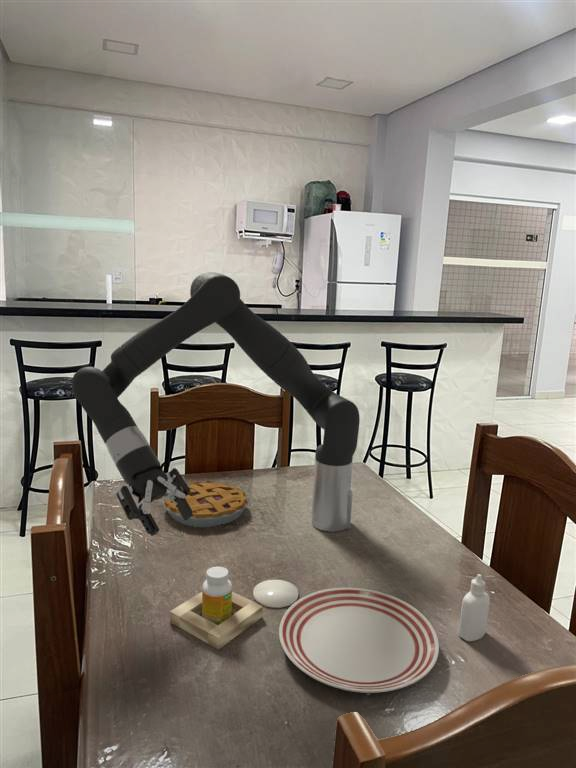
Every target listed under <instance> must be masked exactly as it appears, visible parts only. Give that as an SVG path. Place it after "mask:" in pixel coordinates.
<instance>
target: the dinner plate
mask: <svg viewBox="0 0 576 768" xmlns="http://www.w3.org/2000/svg"><path fill="white" fill-rule="evenodd" d="M278 629H279V630H278V635H279V642H280V645H281V648H282V649H283V652H284V654H285V655H286V656H287V657H288V659H289V660H290V661H291V662H292V664H293V665H295V666H296V667H297V668H298V669H299V670H300V671H302V672H303V673H304V674H306V675H307V676H308V677H310V678H312V679H314V680H315V681H318V682H320V683H322V684H325V685H327V686H330V687H333V688H336V689H340V690H342V691H347V692H354V693H361V694H363V693H364V694H373V693H374V694H375V693H377V694H378V693H385V692H391V691H396V690H400V689H403V688H405V687H409V686H411V685H412V684H415V683H417V682H418V681H420V680H421V679H423V678H424V677H426V676H427V675H428V674H429V673H430V672H431V670H432V669H433V667H434V666H435V664H436V663H437V660H438V657H439V651H440V643H439V639H438V635H437V633H436V630H435V629H434V627H433V625H432V624H431V622H430V621H429V620H428V619H427V617H425V615H424V614H422V613H421V612H420V610H418V609H416V608H415V607H414V606H413V605H411V604H409V603H407V602H406V601H404V600H402V599H400V598H398V597H395V596H393V595H391V594H387V593H385V592H381V591H378V590H373V589H367V588H361V587H333V588H328V589H327V588H326V589H322V590H318V591H314V592H311V593H309V594H307V595H305V596H303V597H301V598H298V599H297V601H296V602H295V603H293V604H292V605H290V607H288V609H286V611H285V613H284V614H283V616H282V618H281V621H280V624H279V628H278Z"/></svg>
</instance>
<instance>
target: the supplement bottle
mask: <svg viewBox="0 0 576 768" xmlns="http://www.w3.org/2000/svg"><path fill="white" fill-rule="evenodd" d="M205 579H206V580H204V582H203V584H202V586H201V587H202V591H201V592H202V613H201V617H203V618H205V619H207V620H209V621H211V622H213V623H214V624H216V625H219V624H221V623H222V622H224V621H225V620H226V619H228V618H229V617H231V616H232V612H231V611H232V592H233V585H232V584H233V583H232V582H231V580H230V579H229V570H228V569H227V568H226V567H223V566H213V567H210V568H208V569H207V570H206V574H205Z"/></svg>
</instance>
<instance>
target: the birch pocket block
mask: <svg viewBox="0 0 576 768" xmlns="http://www.w3.org/2000/svg"><path fill="white" fill-rule="evenodd" d="M263 610H264V606H263V605H261V604H259V603H258V602H255V601H253V600H251V599H248V598H246V597H244V596H243V595H241V594H238V593H236V592H233V591H232V611H231V613H233V614H231V617H229V618H228V619H226V620H225V621H224V622H222V623H221V624H219V625H216V624H214V623H213V622H211V621H209V620H207V619H205V618H203V617H202V591H201V592H199V593H198V594H195V596H192V597H191V598H189V599H187V600H186V601H185V602H182V603H181V604H180V605H178V606H176V607H175V608H173V609H171V610H170V611H169V623H170V624H172V625H174V626H176V627H178V628H180V629H181V630H183V631H185V632H186V633H189V634H190V635H192V636H194V637H195V638H197V639H199V640H201V641H203V642H204V643H206V644H208V645H210V646H211V647H213V648H215V649H217V650H220V649H221V648H223V647H224V646H225V645H227V644H228V643H229V642H231V641H232V640H233V639H234V638H237V636H239V635H240V634H242V633H243V632H244V631H245V630H247V629H248V628H250V627H251V626H252V625H254V624H255V623H256V622H257V621H259V620H260V619H262V618H263ZM250 625H251V626H250ZM246 628H247V629H246ZM230 640H231V641H230Z"/></svg>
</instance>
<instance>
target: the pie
mask: <svg viewBox="0 0 576 768" xmlns="http://www.w3.org/2000/svg"><path fill="white" fill-rule="evenodd" d="M187 485H188V487H189V488H190V493H189V494H188V495H187V496H186V501H187V502H188V504H189V506H190V508H191V509H192V512H193V513H192V514H193V516H192V517H191V518H190V519H188V520H186V521H185V520H184V519H183V517H182V515H181V513H180V512H179V510H178V508H177V507H176V505H177V504H176V503H174V502H173V501H171V500H166V499H164V498H162V499H163V500H162V506H163V507H164V508H165V509H166V510H167V512H168V515H170V517H171V518H172V520H173V521H175V520H176V521H175V522H177V521H178V523H179V524H182V525H184V526H187V525H189V526H188V527H192V526H194V527H193V528H197V527H199V528H213V527H218V526H222V525H221V524H223V525H226V523H227V524H228V523H229V524H230V523H231V522H233V521H236V520H237V519H238V518H239V517H240V516H242V515H243V512H244V511H245V508H246V507H247V506H248V505H249V501H248V497H247V495H246V493H245V491H243V490H240V489H239V487H236V486H234V485H233V486H231V485H228V483H225V482H220V483H215V482H214V481H211V480H207V481H206V482H200V481H194V482H193V483H192V484H187ZM181 488H182V487H181ZM182 490H183V489H182ZM176 497H177V496H176ZM217 525H218V526H217ZM212 526H213V527H212Z"/></svg>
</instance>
